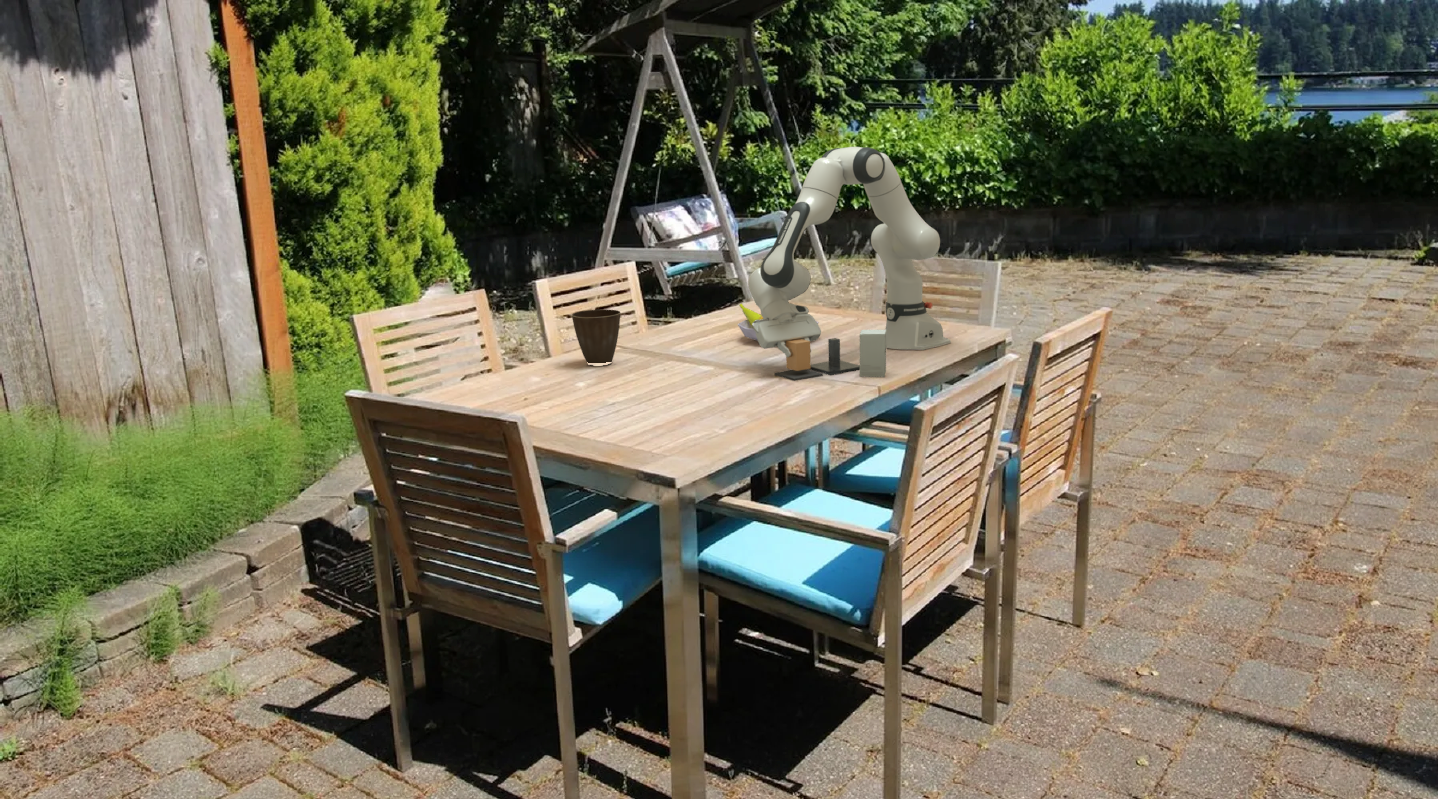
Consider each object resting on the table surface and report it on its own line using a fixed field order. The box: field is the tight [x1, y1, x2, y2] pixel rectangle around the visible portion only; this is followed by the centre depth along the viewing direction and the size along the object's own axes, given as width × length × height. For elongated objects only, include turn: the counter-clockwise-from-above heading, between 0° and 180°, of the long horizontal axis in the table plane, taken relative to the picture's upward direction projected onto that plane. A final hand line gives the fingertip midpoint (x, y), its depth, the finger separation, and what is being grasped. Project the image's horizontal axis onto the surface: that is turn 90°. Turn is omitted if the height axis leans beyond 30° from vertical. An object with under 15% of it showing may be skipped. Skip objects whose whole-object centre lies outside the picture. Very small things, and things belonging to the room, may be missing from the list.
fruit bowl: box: [737, 303, 820, 342], centre depth 402 cm, size 28×27×11 cm
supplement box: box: [859, 329, 887, 378], centre depth 346 cm, size 7×7×13 cm
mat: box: [774, 369, 824, 382], centre depth 349 cm, size 10×10×1 cm
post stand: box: [808, 337, 860, 376], centre depth 355 cm, size 12×12×9 cm
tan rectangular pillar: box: [785, 339, 812, 371], centre depth 348 cm, size 5×5×8 cm
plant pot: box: [571, 309, 621, 363], centre depth 372 cm, size 15×15×16 cm
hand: (799, 354), depth 347 cm, fingers closed on tan rectangular pillar, 5 cm apart
